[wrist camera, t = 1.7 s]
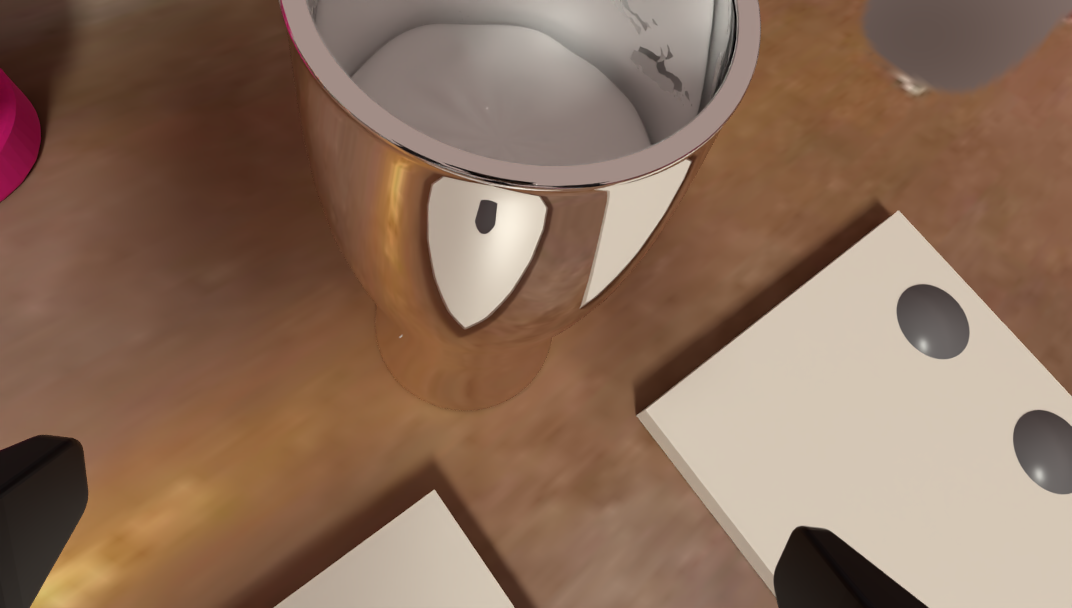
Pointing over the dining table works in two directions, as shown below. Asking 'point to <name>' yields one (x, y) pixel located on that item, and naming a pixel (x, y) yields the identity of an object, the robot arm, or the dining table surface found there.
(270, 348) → the dining table surface
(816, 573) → the robot arm
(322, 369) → the dining table surface
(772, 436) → the two-dot tile
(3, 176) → the pepper mill
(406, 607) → the one-dot tile
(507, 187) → the beer glass
